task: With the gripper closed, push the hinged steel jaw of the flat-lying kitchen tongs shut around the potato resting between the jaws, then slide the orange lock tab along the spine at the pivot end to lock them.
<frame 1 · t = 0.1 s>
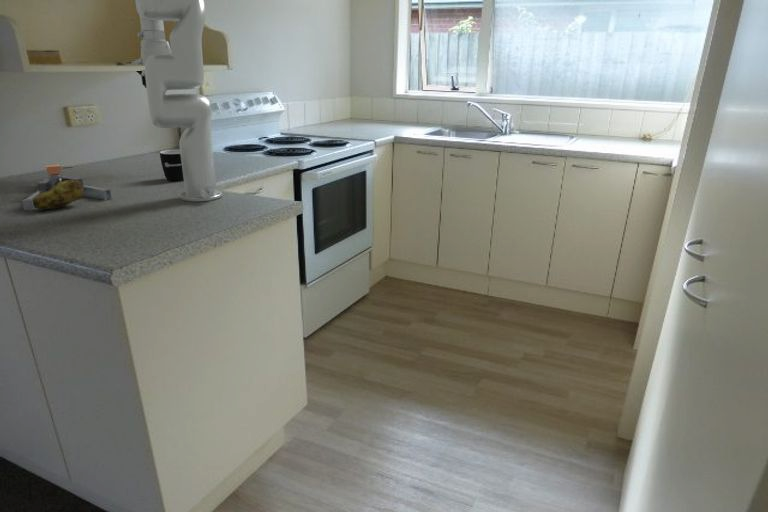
hand: (160, 87, 191), 31 cm above the worktop, fingers open, 9 cm apart
mug: (181, 180, 190), on the worktop
tongs fixed: (58, 189, 173), on the worktop
tongs jaw: (83, 187, 167), point 2 cm above the worktop, hinge at 12.0°
lock tab: (53, 169, 174), point 6 cm above the worktop, slide at 0.0 cm
potato: (61, 208, 153), on the worktop
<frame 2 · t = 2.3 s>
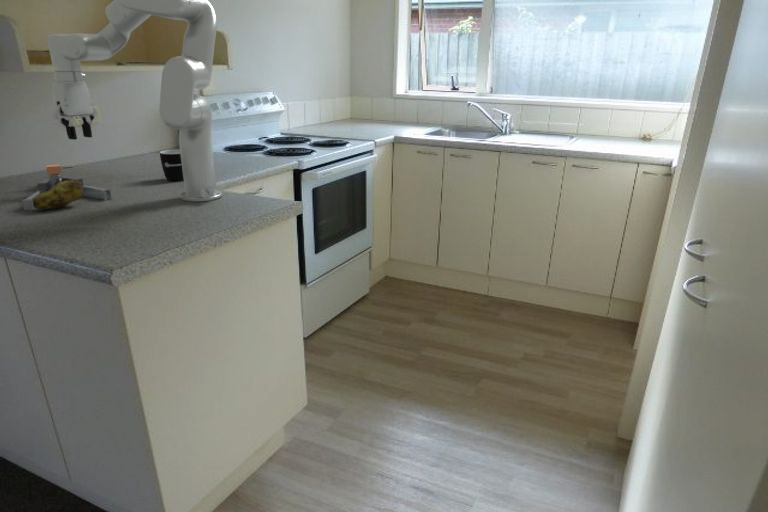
hand: (80, 137, 167), 17 cm above the worktop, fingers open, 4 cm apart
nothing on the worktop moved.
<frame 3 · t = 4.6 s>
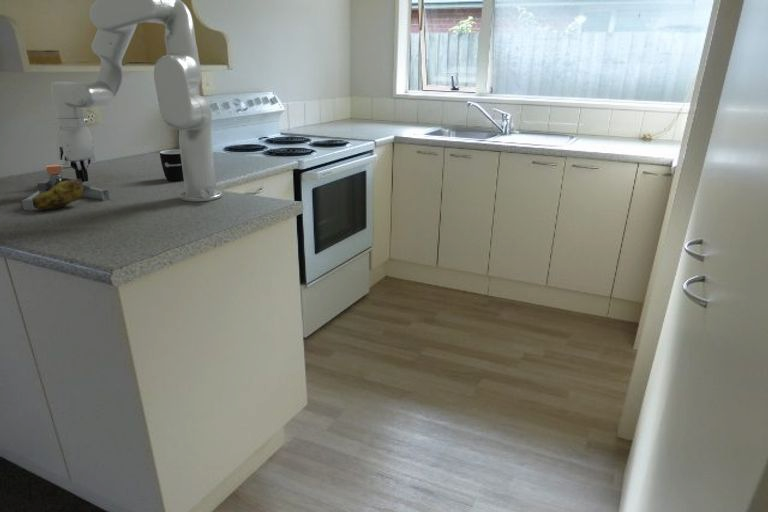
hand: (83, 181, 170), 4 cm above the worktop, fingers closed
tongs jaw: (82, 187, 166), point 3 cm above the worktop, hinge at 10.4°, touching gripper
everything else where it was.
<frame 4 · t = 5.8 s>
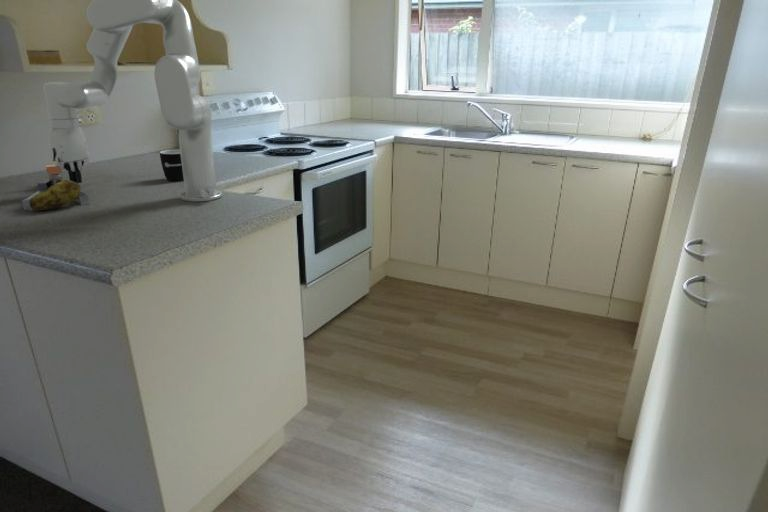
hand: (76, 182, 168), 4 cm above the worktop, fingers closed
tongs jaw: (70, 189, 164), point 3 cm above the worktop, hinge at -4.6°, touching potato
potato: (58, 209, 153), on the worktop, touching tongs jaw
everything else where it was.
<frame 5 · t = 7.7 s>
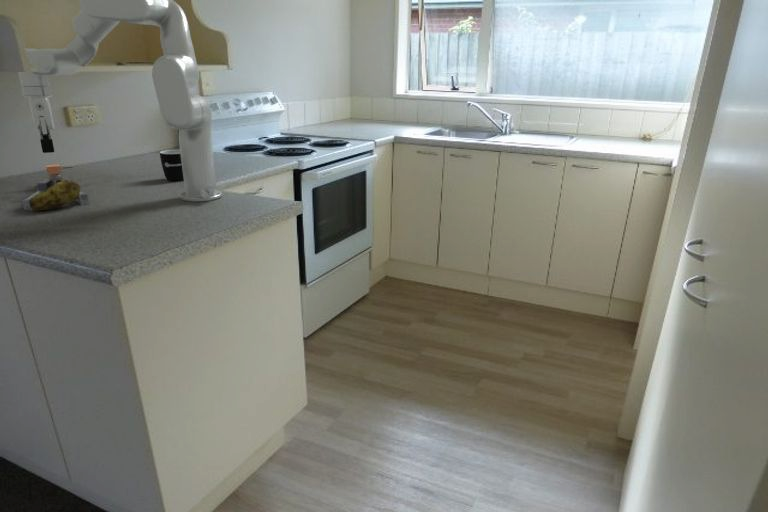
hand: (48, 152, 166), 13 cm above the worktop, fingers closed
tongs jaw: (70, 189, 164), point 3 cm above the worktop, hinge at -4.5°
potato: (58, 209, 153), on the worktop
everything else where it was.
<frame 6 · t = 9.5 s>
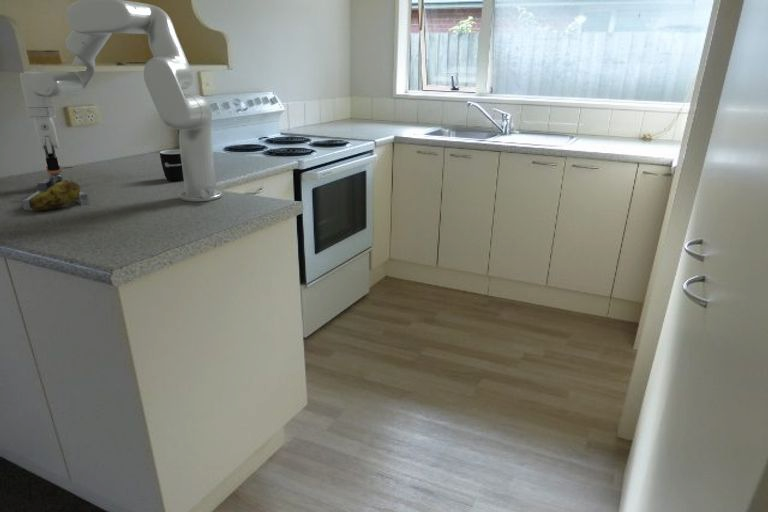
hand: (53, 169, 172), 6 cm above the worktop, fingers closed
lock tab: (53, 168, 175), point 6 cm above the worktop, slide at 1.3 cm, touching gripper
everything else where it was.
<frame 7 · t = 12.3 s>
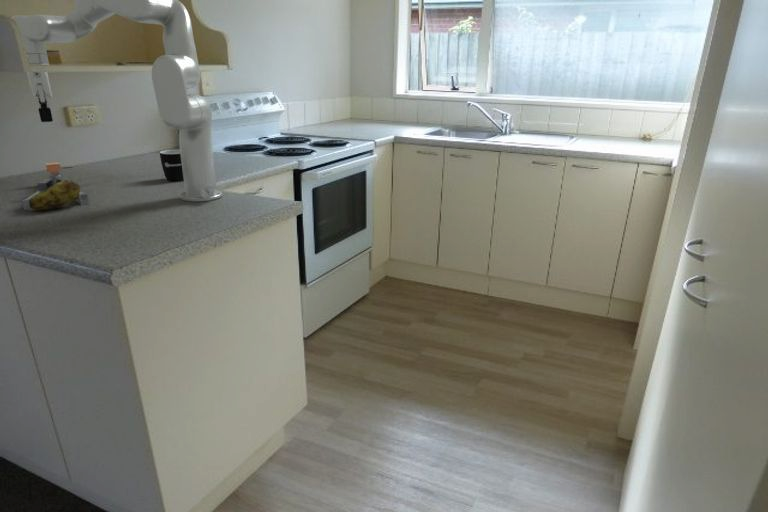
hand: (47, 121, 166), 22 cm above the worktop, fingers closed
lock tab: (53, 167, 177), point 6 cm above the worktop, slide at 4.1 cm
everything else where it was.
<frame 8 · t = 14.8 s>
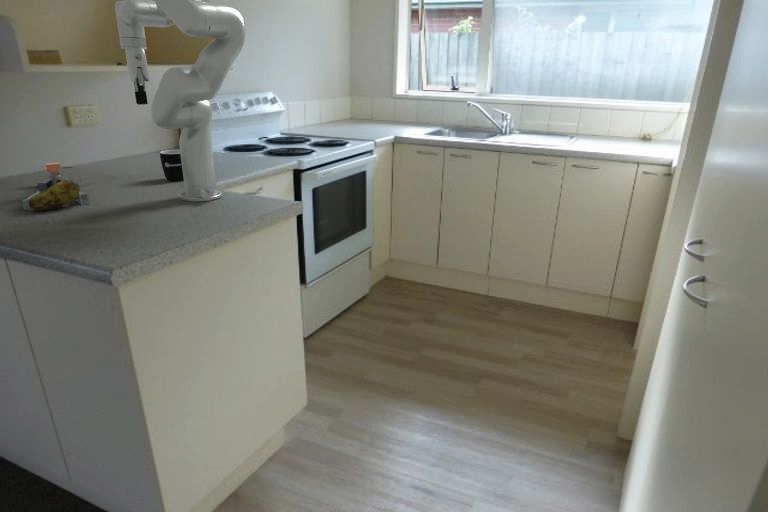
hand: (142, 104, 172), 27 cm above the worktop, fingers closed
nothing on the worktop moved.
at the end: tongs jaw at -4° (first picture: +12°); lock tab slide at 4.1 cm; potato inside the target area (1.3 cm from its centre), on the worktop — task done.
